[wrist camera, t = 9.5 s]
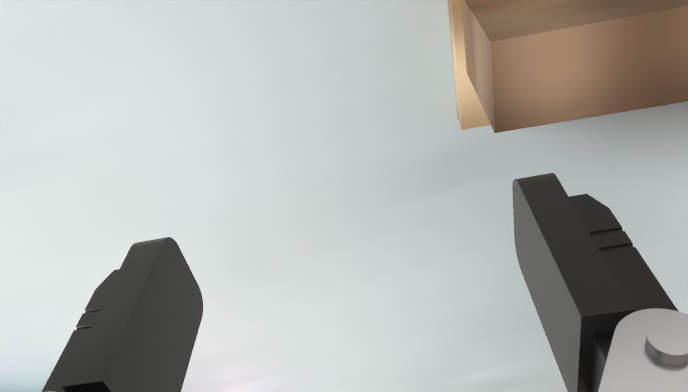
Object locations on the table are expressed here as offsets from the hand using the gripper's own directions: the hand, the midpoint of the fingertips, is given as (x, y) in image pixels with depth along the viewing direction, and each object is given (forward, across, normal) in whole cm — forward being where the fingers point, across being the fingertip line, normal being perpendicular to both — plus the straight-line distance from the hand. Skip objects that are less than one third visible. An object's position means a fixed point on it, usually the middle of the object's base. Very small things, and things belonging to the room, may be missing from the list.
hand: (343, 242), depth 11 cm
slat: (+12, -10, +1) cm, 15 cm away
